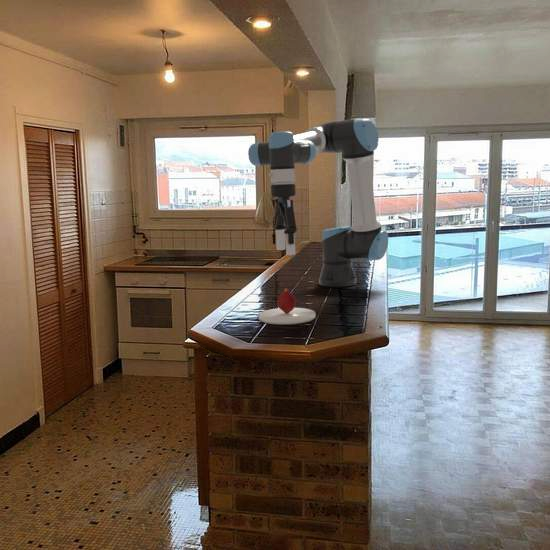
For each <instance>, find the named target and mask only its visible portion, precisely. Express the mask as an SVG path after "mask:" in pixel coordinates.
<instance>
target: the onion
mask: <svg viewBox="0 0 550 550" xmlns="http://www.w3.org/2000/svg"><path fill="white" fill-rule="evenodd" d="M295 297H296V296H294V294H293V293H292V292H290V291H289V290H288V288H284V289H283V292H281V294H280V295H279V296H278V298H277V306H278V308H280V309H281V310H282V311H283V312H284V313H286V314H288V313H289V312H291V311H292V310H293V309H294V308H296V305H297V300H296V298H295Z"/></svg>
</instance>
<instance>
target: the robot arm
mask: <svg viewBox="0 0 550 550" xmlns="http://www.w3.org/2000/svg"><path fill="white" fill-rule="evenodd" d="M378 146H379V133H378V129H377V127H376V125H375V123H374V122H373V121H372V120H371V119H368V118H352V119H351V118H350V119H344V120H334V121H329V122H326V123H322V124H319V125H316V126H314V127H310V128H308V129H307V130H305V132H301V133H297V134H294V133H293V132H291V131H274V132H271V133H270V134H269V135H268V141H263V142H260V141H259V142H256V143H252V144H251V145H250V146H249V148H248V151H247V154H248V160H249V162H250V163H251V164H252V165H253V166H256V167H265V166H270V167H269V169H270V172H269V173H268V176H269V177H270V183H271V186H270V195H271V197H272V198H275V199H274V205H275V206H274V219H273V220H274V221H273V227H274V229H275V242H276V243H275V244H276V245H275V246H276V247H275V248H276V251H285V255H286V256H296V236H295V235H296V232H297V230H298V229H297V224H296V216H295V211H294V209H295V208H294V201H293V199H290V198H291V197H295V196H296V185H295V182H296V169H295V165H298V164H299V165H300V164H301V165H306V164H309V163H312V162H313V161H314V159H315V158H316V157H317V154H321V153H324V154H325V153H327V154H329V153H330V154H331V153H332V154H333V153H335V154H338V153H341V157H342V160H343V161H344V162H346V165H347V172H348V183H349V188H350V189H349V190H350V198H351V207H352V217H353V224H352V225H349V226H339V227H333V228H327V229H324V230H323V231H322V235H321V238H322V239H321V243H322V244H321V245H322V246H321V248H322V268H321V271H320V276H319V278H318V284H319V285H320V286H321V287H329V288H330V287H332V288H343V287H350V286H354V285H357V276H356V273H355V269H354V267H353V263H352V262H353V261H352V260H362V261H364V260H365V261H379V260H381V259H383V258H384V256H385V255H386V253H387V250H388V245H389V234H388V232H387V231H386V230H385V229H382V224H381V223H380V222H379V221H378V220H377V214H376V213H377V212H376V205H375V204H376V201H375V194H374V186H373V185H374V184H373V175H372V173H373V172H372V165H371V158H372V157H373V156H374V155H375V152H374V151H375V150H377V149H378Z"/></svg>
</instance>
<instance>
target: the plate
mask: <svg viewBox="0 0 550 550" xmlns="http://www.w3.org/2000/svg"><path fill="white" fill-rule="evenodd" d="M316 316H317V315H316V311H315V310H312V309H309V308H305V307H294V309H293V310H292V311H291V312H289V313H288V314H286V313H284V312H283V311H282V310H281V309H280V308H279V307H278V308H271V309H267V310H263V311H260V312H259V313H258V321H259V322H262V323H264V324H268V325H296V324H302V323H308V322H311V321H313V320H315V319H316V318H317V317H316Z"/></svg>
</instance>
